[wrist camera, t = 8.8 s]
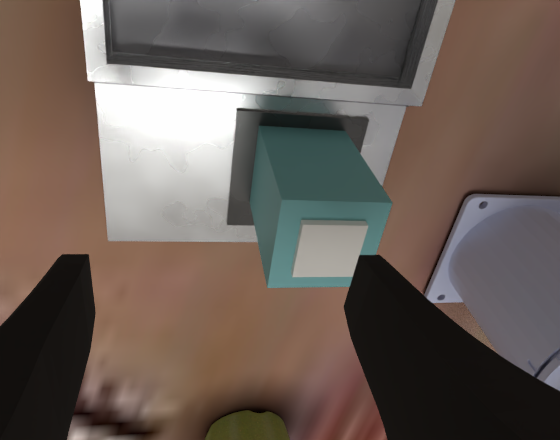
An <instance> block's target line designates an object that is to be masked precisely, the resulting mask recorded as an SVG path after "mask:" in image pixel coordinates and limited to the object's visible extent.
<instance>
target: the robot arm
mask: <svg viewBox="0 0 560 440" xmlns="http://www.w3.org/2000/svg"><path fill="white" fill-rule="evenodd" d="M483 201H484V202H483ZM481 202H483V203H482V204H481V205H479V204H480V203H481ZM444 302H464V304H465V305H466V307H467V308H468V310H469V311H470V313H471V314H472V316H473V317H474V319H475V320H476V322H477V323H478V325H479V326H480V328H481V329H482V331H483V332H484V334H485V335H486V337H487V338H488V340H489V341H490V343H491V344H492V345H493V347H494V348H495V350H496V351H497V353H498V354H497V353H496V352H494V351H493V350H491V349H490V348H489V347H487V346H486V345H484V344H483V343H482V342H480V341H479V340H477V339H476V338H475V337H473V336H472V335H471V334H469V333H468V332H467V331H465V330H464V329H463V328H462V327H460V326H459V325H458V324H457V323H455V322H454V321H453V320H452V319H450V318H449V317H448V316H447V315H446V314H444V313H443V312H442V311H441V310H440V309H438V308H437V307H436V306H435V305H434V304H433V303H444ZM344 310H345V315H346V319H347V324H348V328H349V332H350V336H351V339H352V342H353V345H354V348H355V350H356V353H357V356H358V358H359V361H360V363H361V366H362V369H363V371H364V374H365V376H366V379H367V381H368V384H369V387H370V389H371V392H372V394H373V397H374V400H375V402H376V405H377V407H378V410H379V413H380V416H381V419H382V422H383V425H384V428H385V432H386V436H387V439H388V440H560V197H556V196H526V195H496V194H472V195H470V196H468V197H467V198H466V199H465V201H464V203H463V205H462V207H461V210H460V212H459V214H458V217H457V219H456V221H455V224H454V226H453V228H452V231H451V233H450V235H449V238H448V240H447V243H446V245H445V247H444V250H443V252H442V254H441V257H440V259H439V261H438V264H437V266H436V268H435V271H434V273H433V275H432V278H431V280H430V282H429V285H428V287H427V290H426V292H425V295H423V294H422V293H420V292H419V291H418V290H417V289H416V288H415V287H414V286H413V285H412V284H411V283H410V282H409V281H407V280H406V279H405V278H404V277H403V276H402V275H401V274H400V273H399V272H398V271H397V270H396V269H395V268H394V267H392V266H391V265H390V264H389V263H388V262H387V261H386V260H385V259H384V258H382V257H381V256H380V255H359V257H358V261H357V264H356V267H355V271H354V274H353V278H352V281H351V284H350V288H349V291H348V294H347V298H346V301H345V304H344ZM94 320H95V304H94V296H93V287H92V279H91V270H90V262H89V254H62V255H61V256H60V257H59V258H58V259H57V260H56V262H55V263H54V264H53V265H52V267H51V268H50V269H49V271H48V272H47V273H46V274H45V276H44V277H43V278H42V279H41V281H40V282H39V283H38V284H37V286H36V287H35V288H34V289H33V290H32V292H31V293H30V294H29V295H28V296H27V297H26V299H25V300H24V301H23V302H22V303H21V304H20V305H19V306H18V308H17V309H16V310H15V311H14V312H13V313H12V314H11V315H10V317H9V318H8V319H7V320H6V321H5V322H4V323H3V324H2V325H1V326H0V440H67V436H68V431H69V428H70V424H71V420H72V417H73V413H74V409H75V405H76V402H77V398H78V394H79V391H80V387H81V383H82V379H83V376H84V372H85V368H86V364H87V361H88V357H89V353H90V349H91V342H92V335H93V328H94Z"/></svg>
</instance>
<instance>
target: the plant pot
mask: <svg viewBox="0 0 560 440" xmlns="http://www.w3.org/2000/svg"><path fill="white" fill-rule="evenodd" d="M205 440H290V439H289V436H288V433H287V430H286V427H285V424H284V422H283V420H282V419H281V418H280V417H279V416H278V415H276V414H274V413H272V412H268V411H266V412H264V413H254V412H252V411H249V410H245V411H239V412H235V413H232V414H229V415H227V416H225V417H223V418H221V419H219V420H217V421H216V422H215V423H213V424H212V425H211V427H210V429H209V431H208V433H207V435H206V437H205Z"/></svg>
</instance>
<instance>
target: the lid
mask: <svg viewBox="0 0 560 440" xmlns="http://www.w3.org/2000/svg"><path fill="white" fill-rule="evenodd" d="M93 82H94V83H95V95H96V106H97V118H98V129H99V141H100V153H101V164H102V176H103V187H104V199H105V211H106V222H107V234H108V241H182V242H258V240H257V236H256V231H255V226H254V221H253V216H252V211H251V207H250V195H251V187H252V178H253V170H254V162H255V153H256V145H257V137H258V129H259V126H274V127H290V128H306V129H322V130H338V131H346V133H347V134H348V136H349V137H350V139H351V140H352V142H353V143H354V145H355V146H356V148H357V149H358V151H359V152H360V154H361V155H362V157H363V159H364V160H365V162H366V163H367V165H368V166H369V168H370V169H371V171H372V172H373V174H374V175H375V177H376V178H377V180H378V181H379V183H380V185H381V186H382V185H383V182H384V179H385V175H386V172H387V169H388V166H389V162H390V159H391V156H392V152H393V149H394V146H395V142H396V139H397V136H398V132H399V129H400V126H401V122H402V119H403V116H404V113H405V109H406V106H408V107H409V105H397V104H384V103H371V102H358V101H345V100H332V99H318V98H305V97H292V96H279V95H266V94H253V93H240V92H226V91H213V90H200V89H187V88H174V87H161V86H148V85H135V84H121V83H108V82H95V81H93Z"/></svg>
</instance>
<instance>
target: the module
mask: <svg viewBox="0 0 560 440" xmlns="http://www.w3.org/2000/svg"><path fill="white" fill-rule="evenodd" d="M391 206H392V201H391V200H390V198H389V197H388V195H387V194H386V192H385V191H384V189H383V188H382V186H381V185H380V183H379V181H378V180H377V178H376V177H375V175H374V174H373V172H372V171H371V169H370V168H369V166H368V165H367V163H366V162H365V160H364V159H363V157H362V155H361V154H360V152H359V151H358V149H357V148H356V146H355V145H354V143H353V142H352V140H351V139H350V137H349V136H348V134H347V133H346V131H338V130H322V129H306V128H290V127H274V126H259V129H258V137H257V145H256V153H255V162H254V170H253V178H252V187H251V195H250V207H251V211H252V216H253V221H254V226H255V231H256V236H257V240H258V245H259V250H260V255H261V260H262V265H263V269H264V274H265V279H266V284H267V288H289V287H350V284H351V281H352V278H353V274H354V271H355V267H356V264H357V261H358V257H359V255H376V252H377V249H378V246H379V243H380V240H381V237H382V234H383V231H384V228H385V224H386V221H387V218H388V215H389V212H390V209H391Z"/></svg>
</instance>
